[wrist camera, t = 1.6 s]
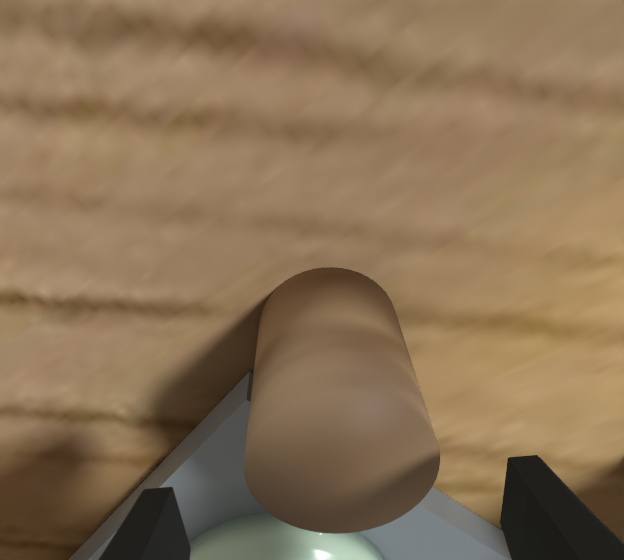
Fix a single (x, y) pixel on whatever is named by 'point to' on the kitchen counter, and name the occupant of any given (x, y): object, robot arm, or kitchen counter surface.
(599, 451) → the kitchen counter surface
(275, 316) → the walnut cylinder
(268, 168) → the kitchen counter surface
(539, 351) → the kitchen counter surface
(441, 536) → the base
